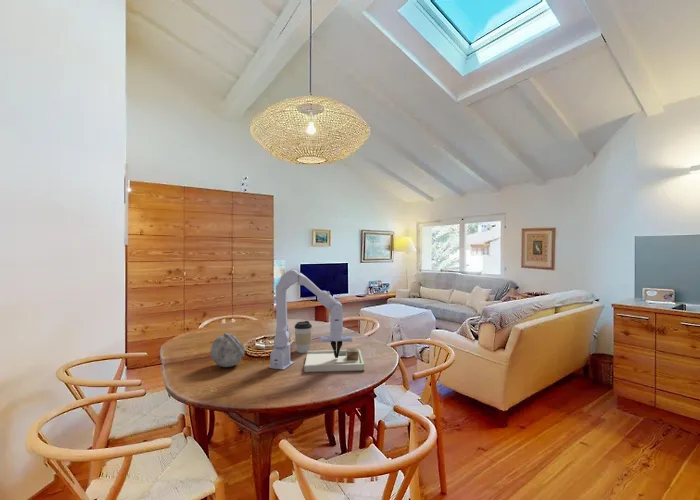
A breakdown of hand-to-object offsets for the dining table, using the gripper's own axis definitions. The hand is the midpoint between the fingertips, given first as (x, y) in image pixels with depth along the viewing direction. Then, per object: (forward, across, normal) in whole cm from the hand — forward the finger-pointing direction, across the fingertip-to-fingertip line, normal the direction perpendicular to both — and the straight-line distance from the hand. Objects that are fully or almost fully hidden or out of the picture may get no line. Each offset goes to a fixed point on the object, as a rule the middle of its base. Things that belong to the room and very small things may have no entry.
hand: (336, 357), depth 149 cm
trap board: (+3, -1, 0) cm, 3 cm away
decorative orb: (+3, -50, 0) cm, 50 cm away
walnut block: (+1, +7, 0) cm, 7 cm away
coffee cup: (+3, -17, +20) cm, 26 cm away
